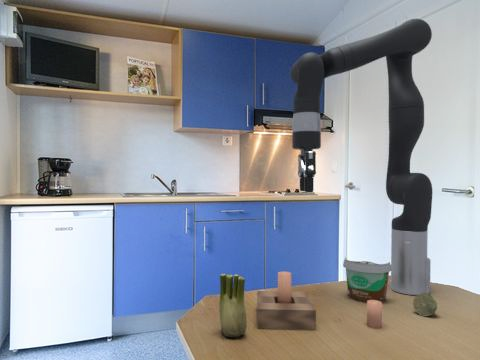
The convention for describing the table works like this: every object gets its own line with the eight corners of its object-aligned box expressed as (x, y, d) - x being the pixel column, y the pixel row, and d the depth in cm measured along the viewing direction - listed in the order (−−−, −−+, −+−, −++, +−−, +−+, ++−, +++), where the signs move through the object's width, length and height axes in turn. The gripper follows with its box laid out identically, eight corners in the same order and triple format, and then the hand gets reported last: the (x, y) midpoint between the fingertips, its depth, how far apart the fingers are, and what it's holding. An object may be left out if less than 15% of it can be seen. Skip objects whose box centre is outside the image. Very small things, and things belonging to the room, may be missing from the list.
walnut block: (306, 308, 86) (307, 292, 86) (315, 329, 74) (315, 310, 74) (257, 307, 86) (257, 290, 86) (257, 328, 74) (258, 309, 74)
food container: (338, 299, 92) (338, 261, 92) (343, 293, 98) (343, 256, 98) (389, 308, 86) (389, 267, 86) (391, 300, 92) (392, 262, 92)
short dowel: (378, 322, 78) (379, 299, 78) (383, 328, 75) (384, 304, 75) (365, 322, 78) (365, 299, 78) (369, 328, 75) (369, 304, 75)
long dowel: (290, 315, 81) (290, 271, 81) (291, 320, 78) (292, 275, 78) (277, 314, 82) (277, 271, 82) (277, 320, 79) (278, 274, 79)
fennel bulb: (216, 331, 73) (216, 272, 73) (237, 326, 75) (237, 269, 75) (228, 342, 68) (229, 279, 68) (251, 337, 70) (251, 276, 70)
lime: (439, 319, 80) (439, 297, 80) (416, 317, 81) (416, 295, 81) (433, 312, 84) (433, 291, 84) (411, 310, 85) (411, 289, 85)
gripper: (326, 127, 88) (325, 192, 88) (315, 134, 102) (315, 190, 102) (295, 127, 88) (295, 192, 88) (289, 134, 102) (289, 190, 103)
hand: (306, 191), depth 95 cm, fingers open, 8 cm apart
